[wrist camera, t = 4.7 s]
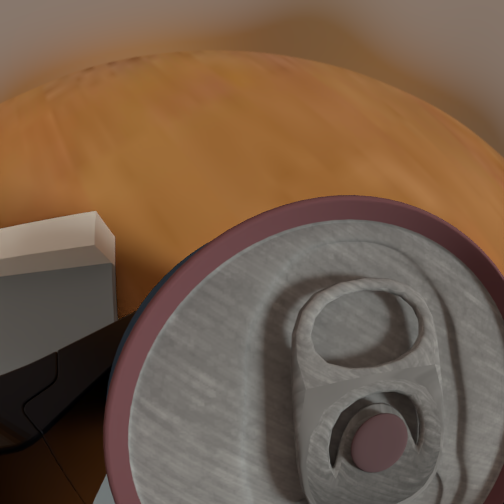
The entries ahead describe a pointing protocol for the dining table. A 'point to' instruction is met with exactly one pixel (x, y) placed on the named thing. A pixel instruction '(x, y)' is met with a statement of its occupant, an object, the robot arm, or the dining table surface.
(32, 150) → the dining table surface
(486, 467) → the soda can
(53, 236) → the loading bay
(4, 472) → the robot arm
